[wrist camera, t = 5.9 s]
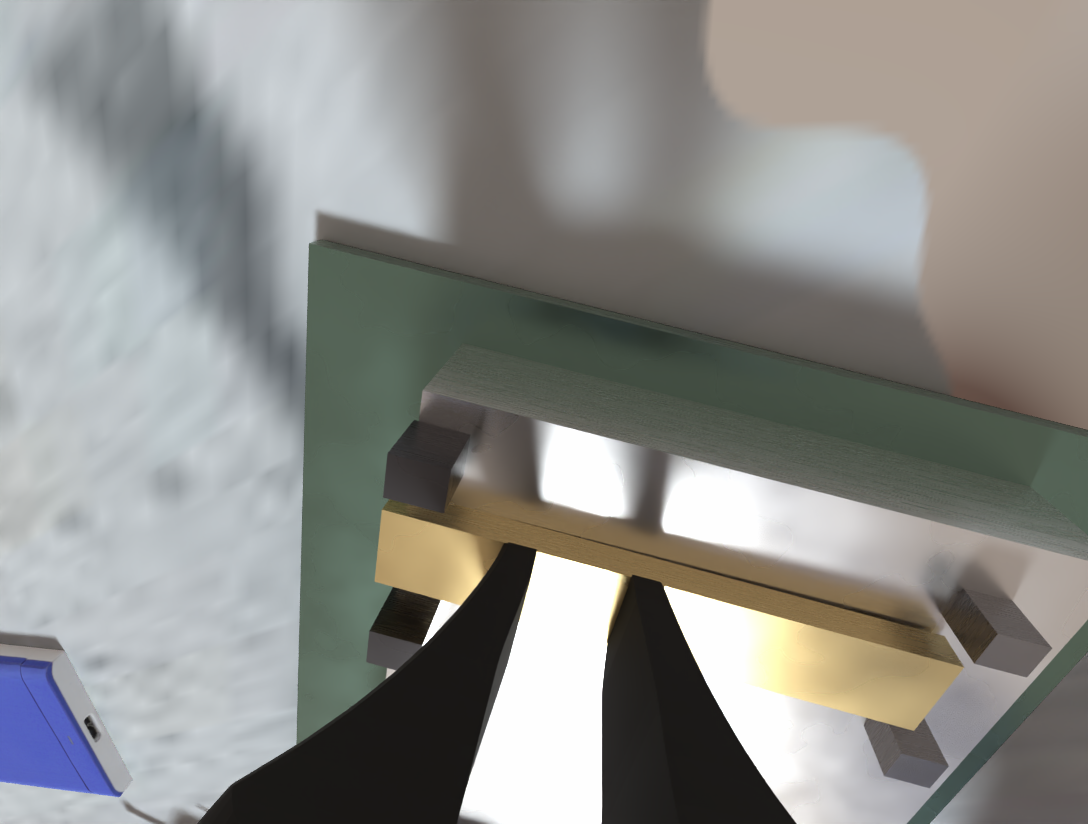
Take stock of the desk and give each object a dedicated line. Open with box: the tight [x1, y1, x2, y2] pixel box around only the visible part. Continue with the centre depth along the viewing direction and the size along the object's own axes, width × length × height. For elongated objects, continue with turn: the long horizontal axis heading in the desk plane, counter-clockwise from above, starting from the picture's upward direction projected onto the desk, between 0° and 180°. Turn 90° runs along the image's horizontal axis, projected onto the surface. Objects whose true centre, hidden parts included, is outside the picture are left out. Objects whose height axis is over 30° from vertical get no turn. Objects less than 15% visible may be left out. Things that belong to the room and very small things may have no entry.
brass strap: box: [375, 499, 964, 731], centre depth 12 cm, size 12×2×1 cm, turn 78°
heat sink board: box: [297, 240, 1088, 824], centre depth 16 cm, size 22×22×5 cm
